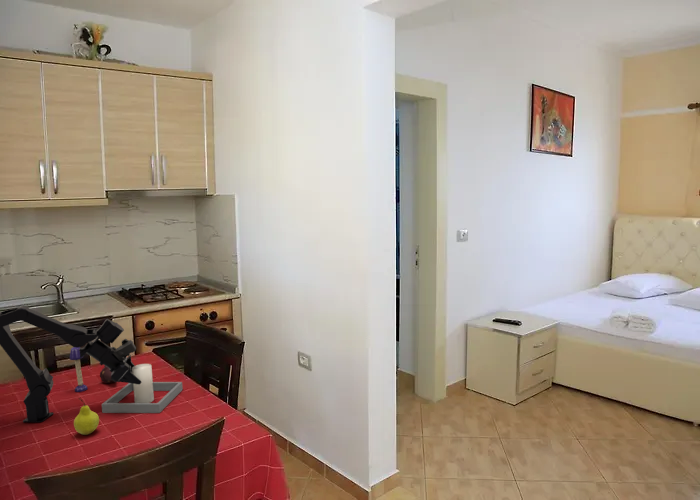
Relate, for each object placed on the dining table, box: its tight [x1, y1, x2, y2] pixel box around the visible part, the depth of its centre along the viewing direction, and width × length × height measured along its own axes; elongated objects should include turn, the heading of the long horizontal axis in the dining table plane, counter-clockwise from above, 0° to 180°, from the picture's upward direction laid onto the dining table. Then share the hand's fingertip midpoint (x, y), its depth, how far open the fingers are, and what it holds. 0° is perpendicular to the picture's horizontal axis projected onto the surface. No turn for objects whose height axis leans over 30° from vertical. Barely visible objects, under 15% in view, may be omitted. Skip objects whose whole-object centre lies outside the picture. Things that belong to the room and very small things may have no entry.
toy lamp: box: [69, 346, 88, 393], centre depth 196 cm, size 5×5×17 cm
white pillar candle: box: [132, 363, 155, 403], centre depth 185 cm, size 6×6×12 cm
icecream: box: [99, 365, 115, 384], centre depth 204 cm, size 7×7×15 cm
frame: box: [101, 381, 184, 414], centre depth 185 cm, size 20×20×3 cm
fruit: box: [73, 397, 100, 436], centre depth 161 cm, size 7×7×12 cm
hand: (140, 378), depth 184 cm, fingers open, 9 cm apart
